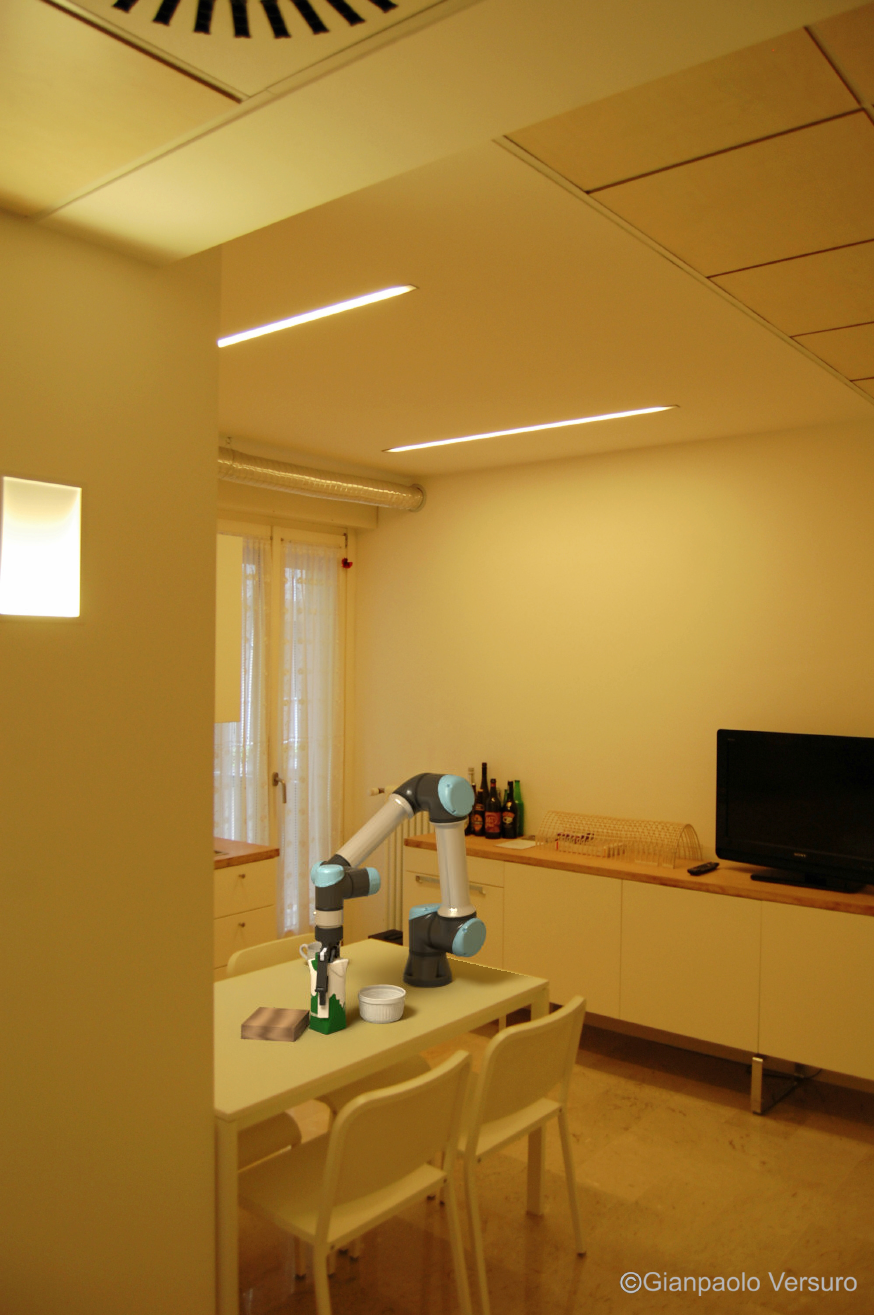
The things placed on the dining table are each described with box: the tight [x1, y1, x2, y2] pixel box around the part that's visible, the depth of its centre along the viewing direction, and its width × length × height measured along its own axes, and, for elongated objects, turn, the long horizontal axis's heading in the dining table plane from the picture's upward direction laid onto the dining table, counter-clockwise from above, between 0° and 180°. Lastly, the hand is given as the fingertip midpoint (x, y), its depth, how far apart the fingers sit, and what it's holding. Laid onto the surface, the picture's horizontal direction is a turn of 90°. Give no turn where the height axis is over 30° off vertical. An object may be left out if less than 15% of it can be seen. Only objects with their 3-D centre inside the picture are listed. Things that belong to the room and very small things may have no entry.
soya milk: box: [307, 952, 350, 1036], centre depth 253 cm, size 9×9×20 cm
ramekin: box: [357, 984, 407, 1025], centre depth 262 cm, size 13×13×7 cm
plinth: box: [240, 1006, 311, 1043], centre depth 250 cm, size 14×14×4 cm
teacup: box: [298, 940, 341, 967], centre depth 306 cm, size 14×11×8 cm
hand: (328, 1011), depth 253 cm, fingers closed on soya milk, 9 cm apart
